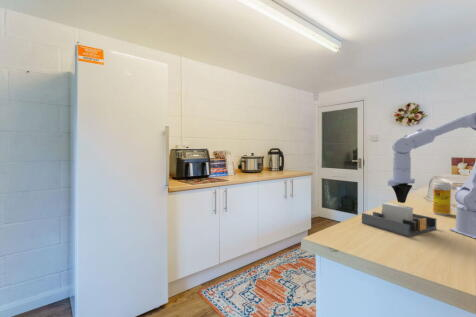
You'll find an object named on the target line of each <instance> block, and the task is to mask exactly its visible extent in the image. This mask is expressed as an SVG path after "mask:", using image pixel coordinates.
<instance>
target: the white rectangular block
mask: <svg viewBox="0 0 476 317" xmlns="http://www.w3.org/2000/svg"><path fill="white" fill-rule="evenodd" d="M381 214H384V219H388V220H392V221H396V222H400V223H403V220H404V219H406V220H410V221H413V214H414V207H410V206H405V205H401V204H395V203H392V202H391V203H390V202H383V203H382V204H381Z"/></svg>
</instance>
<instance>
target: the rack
mask: <svg viewBox="0 0 476 317" xmlns="http://www.w3.org/2000/svg"><path fill="white" fill-rule="evenodd" d="M361 224H365V225H368V226H370V227H373V228H374V227H375V228H377V227H378V229H381V230H385V231H388V232H390V233H393V234H394V233H395V234H398V235H401V236H404V237H407V238H410V237H413V236H416V235H420V234H423V233H427V232H429V231H434V230H436V229H437V218H435V217H432V216H431V217H430V216H425V215H421V214H417V213H413V221H410V220H406V219H404V220H403V223H400V222H396V221H392V220H388V219H384V214H382V212H377V211H373V212H372V214H369V213H365V212H363V213H361Z"/></svg>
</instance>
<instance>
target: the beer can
mask: <svg viewBox="0 0 476 317" xmlns="http://www.w3.org/2000/svg"><path fill="white" fill-rule="evenodd" d="M451 187H452V185H451V183H450V182H448V181H434V183H433V200H432V202H433V204H432V211H433V213H434V214H435V215H438V216H449V215H450V214H451V200H452V199H451V198H452V196H451V192H452V190H451V189H452V188H451Z"/></svg>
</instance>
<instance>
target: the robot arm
mask: <svg viewBox="0 0 476 317" xmlns="http://www.w3.org/2000/svg"><path fill="white" fill-rule="evenodd" d="M461 128H462V129H463V128H464V129H466V128H471V130H473V131H476V112H473V113H469V114H466V115H463V116H459V117H456V118H455V119H452V120H450V121H448V122H445V123H443V124H441V125H439V126H436V127H434V128H431V129H430V128H423V129H422V128H419V129H416V131H415V132H413V133H411V134H409V135H407V134H405V135H403V137H401V138H399V139H396V140H395V141H394V142H393V143H392V146H391V147H392V150H393V160H392V162H393V163H392V167H393V168H392V178H390V180H387V186H389V187H390V186H391V188H392V189H393V191H394V194H395V196H396V201H397V203H400V204H405V203H406V201H407V198H408V195H409V192H410V191H411V190H412V188H413V185H412V184H415V180H416V179H415V178H412V177H411V176H412V175H411V173H412V171H411V169H412V168H411V166H412V165H411V164H412V163H411V162H412V161H411V160H412V158H411V151H412V150H413V149H414V150H415V149H418V148H420V147H422V146H424V145H425V146H426V145H427V144H431V143H433V142H434V140H435V138H436V137H438V136H441V135H443V134H447V133H449V132H452V131H454V130H457V129H461ZM454 199H455V202H457V205H456V212H455V213H456V215H455V216H456V217H455V218H456V220H455V227H451V228H449V231H452V232H455V233H458V234H460V235H463V236H467V237H469V238H472V239H476V161H475V162H474V164H473V167H472V169H471V171H470V174H469V176H468V179H467V180H466V181H465V182H464V183H463V184H462V186H461V187H460V188H459V189H458V190H456V192H455V193H454Z"/></svg>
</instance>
